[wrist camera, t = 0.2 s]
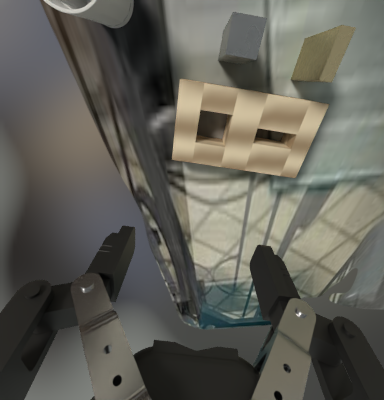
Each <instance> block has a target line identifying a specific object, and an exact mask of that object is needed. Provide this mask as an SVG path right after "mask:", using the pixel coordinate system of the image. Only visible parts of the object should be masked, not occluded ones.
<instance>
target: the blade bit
mask: <svg viewBox="0 0 384 400" xmlns="http://www.w3.org/2000/svg"><path fill="white" fill-rule="evenodd" d="M355 29H356V28H355V27H350V26H344V25H341V26H338V27H335V28H333V29H330V30H327V31H324V32H322V33H319V34H316V35H314V36H311V37H308V38H305V40H304V43H303V46H302V49H301V52H300V54H299V57H298V60H297V63H296V66H295V69H294V72H293V75H292V77H291V80H296V81H307V82H332V81H333V79H334V76H335V74H336V72H337V70H338V67H339V65H340V63H341V61H342V58H343V56H344V54H345V51H346V49H347V47H348V45H349V42H350V40H351V38H352V36H353V33H354V31H355Z"/></svg>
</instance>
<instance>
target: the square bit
mask: <svg viewBox="0 0 384 400" xmlns="http://www.w3.org/2000/svg"><path fill="white" fill-rule="evenodd" d="M266 20H267V18H263V17H258V16H253V15H247V14H242V13H237V12H233V13H232V15H231V17H230V19H229V21H228V23H227V25H226V27H225V29H224V31H223V36H222V42H221V48H220V53H219V59H218V61H223V62H229V63H235V64H240V65H241V64H244V63H248V62H251V61H254V60H256V59H257V55H258V51H259V48H260V44H261V40H262V36H263V32H264V28H265V24H266Z"/></svg>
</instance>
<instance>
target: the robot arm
mask: <svg viewBox="0 0 384 400" xmlns="http://www.w3.org/2000/svg"><path fill="white" fill-rule="evenodd" d="M134 249H135V227H129V226H122V228H121V229H120V231H119V233H112V234H110V235H109V236H108V237H107V238H106V239H105V240H104V242H103V244H102V246H101V247H100V249H99V251H98V252H97V254H96V256H95V258H94V259H93V261H92V263H91V264H90V266H89V268H88V270H87V271H86V273H85V274H83V275H81V276H79V277H78V278H77V279H75V280H74V282H71V283H67V284H61V285H55V286H51V284H50V283H49V282H48V281H45V280H35V281H32V282H29V283H27V284H26V285H24V286H23V287H21V288H20V289H19V290H18V291H17V292H16V293H15V295H14V296H13V297H12V298H11V300H10V301H9V302H8V304H7V305H6V306H5V308H4V309H3V310H2V311H1V313H0V400H24V399H25V397H26V394H27V392H28V391H29V388H30V387H31V384H32V382H33V380H34V378H35V376H36V374H37V372H38V370H39V368H40V366H41V364H42V362H43V360H44V358H45V356H46V354H47V352H48V350H49V348H50V346H51V344H52V342H53V340H54V338H55V336H56V334H57V332H58V330H59V329H64V328H68V327H72V326H77V325H79V330H80V335H81V340H82V344H83V348H84V353H85V357H86V361H87V366H88V370H89V375H90V379H91V383H92V388H93V392H94V397H93V398H92V399H91V400H302V399H303V394H304V390H305V386H306V381H307V377H308V372H309V368H310V364H311V360H312V363H313V366H314V368H315V371H316V374H317V377H318V380H319V383H320V386H321V389H322V392H323V394H324V397H325V400H384V369H383V367H382V365H381V364H380V362H379V360H378V359H377V357H376V355H375V354H374V352H373V350H372V348H371V347H370V345H369V343H368V342H367V340H366V338H365V336H364V335H363V333H362V332H361V330H360V329H359V328H358V327H357V326H356V325H355V324H354V323H353V322H352V321H350V320H348V319H346V318H344V317H335V318H334V319H333V320H329V319H327V318H325V317H322V316H320V315H317V314H315V312H314V311H313V309H312V308H311V307H310V305H308V304H307V303H306V302H304V301H303V300H301V299H300V296H299V294H298V292H297V290H296V288H295V285H294V283H293V281H292V279H291V277H290V275H289V272H288V271H287V268H286V266H285V264H284V262H283V261H282V259H281V258H280V257H279V256H278V255H274V252H273V250H272V248H271V247H270V246H265V245H258V246H257V247H256V250H255V252H254V254H253V256H252V259H251V261H250V271H251V275H252V279H253V283H254V286H255V290H256V294H257V298H258V302H259V305H260V309H261V313H262V317H263V320H268V321H271V324H272V326H271V327H270V329H269V332H268V334H267V336H266V338H265V341H264V343H263V345H262V348H261V350H260V352H259V355H258V356H257V358H256V360H255V362H254V363H253V365H251V364H250V363H249V362H247V361H246V360H244V359H243V358H241V357H239V356H238V351H237V349H232V348H223V347H214V348H210V349H205V350H200V351H195V350H192V349H190V348H187V347H185V346H183V345H180V344H178V343H176V342H168V341H159V340H154V344H153V346H152V347H148V348H145V349H143V350H141V351H139V352H137V353H136V354H134V355H133V354H132V351H131V348H130V346H129V343H128V341H127V338H126V336H125V333H124V330H123V328H122V325H121V322H120V320H119V317H118V315H117V313H116V311H114V309H113V307H112V304H111V302H110V301H112V302H116V299H117V296H118V293H119V291H120V288H121V285H122V283H123V280H124V278H125V275H126V272H127V270H128V267H129V264H130V262H131V259H132V256H133V253H134ZM342 362H343V363H342ZM343 364H344V365H343ZM344 366H345V367H344ZM346 371H347V372H346ZM347 373H348V374H347ZM348 375H349V376H348ZM349 377H350V378H349ZM351 382H352V383H351Z"/></svg>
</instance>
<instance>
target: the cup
mask: <svg viewBox="0 0 384 400" xmlns="http://www.w3.org/2000/svg"><path fill="white" fill-rule="evenodd" d="M44 1H45V2H46V3H47V4H49V5H50V6H52V7H53V8H55V9H57V10H59V11H61V12H64V13H68V14H71V15H75V16H78V17H82V18H86V19H89V20H92V21H95V22H98V23H101V24H104V25H105V26H107V27H110V28H120V27H123V26H124V25H126V24H127V23H128V21H129V20H130V18H131V16H132V13H133V7H134V0H44Z"/></svg>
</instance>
